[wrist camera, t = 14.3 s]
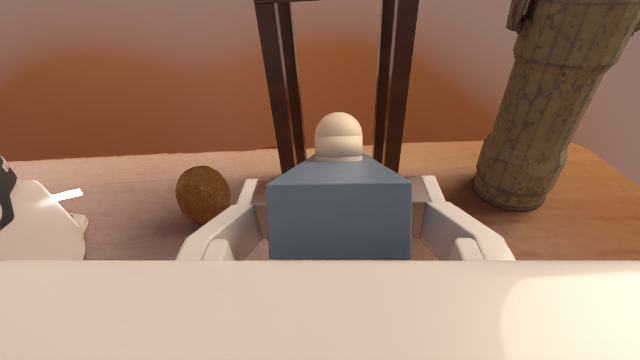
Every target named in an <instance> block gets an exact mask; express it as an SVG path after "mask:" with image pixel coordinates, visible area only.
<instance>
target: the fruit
mask: <svg viewBox="0 0 640 360" xmlns="http://www.w3.org/2000/svg"><path fill="white" fill-rule="evenodd" d="M176 198H177V201H178V204H179V206H180V209H181V210H182V212H183V213H184V214H185V215H186V216H187V217H188V218H190V219H192V220H193V221H195V222H197V223H200V224H206V223H208V222H209V221H210V220H212V219H213V218H215V217H216V216H217V215H219V214H220V213H222V212H223V211H224V210H226V209H227V208H228V207H229V205H230V189H229V186H228V184H227V182H226V181H225V179H224V178H223V176H222V175H221V174H220V173H219V172H218V171H217V170H215V169H212V168H210V167H208V166H196V167H193V168H190V169H188V170H187V171H185V172H184V173H183V174H182V175H181V176H180V178H179V180H178V182H177V186H176Z"/></svg>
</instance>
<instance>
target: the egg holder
mask: <svg viewBox="0 0 640 360" xmlns="http://www.w3.org/2000/svg"><path fill="white" fill-rule="evenodd" d="M266 198H267V219H268V239H269V258H270V259H411V232H412V182H411V181H409V180H407V179H406V178H404V177H402V176H401V175H399V174H397V173H396V172H394V171H392V170H391V169H389V168H387V167H386V166H384V165H382V164H381V163H379V162H377V161H376V160H374V159H372V158H371V157H369V156H368V155H366V154H364V153H362V130H361V127H360V125H359V123H358V122H357V121H356V119H355V118H353V117H352V116H351V115H349V114H346V113H342V112H336V113H331V114H329V115H327V116H325V117H324V118H323V119H322V120H321V121H320V122H319V124H318V126H317V128H316V131H315V155H313V156H311V157H310V158H308V159H306V160H305V161H303V162H302V163H300V164H298V165H297V166H295V167H294V168H292V169H290V170H289V171H287V172H286V173H284V174H282V175H281V176H279V177H277V178H276V179H274V180H273V181H271V182H269V183H268V184H266Z"/></svg>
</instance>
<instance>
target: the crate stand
mask: <svg viewBox="0 0 640 360" xmlns="http://www.w3.org/2000/svg"><path fill="white" fill-rule="evenodd" d="M300 1H317V0H254V3H255V11H256V17H257V24H258V30H259V35H260V41H261V47H262V54H263V60H264V67H265V72H266V79H267V85H268V91H269V97H270V103H271V109H272V115H273V122H274V128H275V134H276V140H277V146H278V153H279V159H280V165H281V171H282V174H284V173H286V172H287V171H289V170H290V169H292V168H294V167H295V166H297V165H298V164H300V163H302V162H303V161H305V160H306V159H307V155H306V145H305V135H304V126H303V115H302V105H301V94H300V84H299V74H298V63H297V53H296V43H295V33H294V23H293V13H292V2H300ZM418 5H419V0H381V12H380V30H379V48H378V65H377V82H376V100H375V117H374V135H373V136H374V137H373V152H372V159H374V160H376V161H377V162H379V163H381V164H382V165H384V166H386V167H387V168H389V169H391V170H392V171H394V172H396V173H397V174H398V169H399V161H400V153H401V144H402V136H403V128H404V120H405V112H406V103H407V95H408V87H409V79H410V71H411V62H412V54H413V46H414V38H415V30H416V21H417V13H418Z"/></svg>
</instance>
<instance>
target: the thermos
mask: <svg viewBox="0 0 640 360" xmlns="http://www.w3.org/2000/svg"><path fill="white" fill-rule="evenodd" d="M527 2H528V4H527ZM526 5H527V7H526ZM525 8H526V11H525V14H524V15H523V13H524V10H525ZM506 28H508V29H509V30H511V31H516V32H517V34H518V36H517V39H516V43H515V46H514V49H513V50H514V58H515V62H514V65H513V68H512V71H511V74H510V77H509V81H508V84H507V87H506V90H505V93H504V96H503V99H502V103H501V105H500V108H499V112H498V115H497V118H496V121H495V124H494V127H493V130H492V131H491V133H490V134H489V135H488V136H487V138H486V139H485V140H484V143H483V146H482V149H481V153H480V156H479V159H478V162H477V172H476V175H475V177H474V179H473V187H474V189H475V191H476V193H477V194H478V195H479V196H480V197H481V198H482V199H484V200H485V201H487V202H489V203H490V204H492V205H495V206H497V207H500V208H503V209H507V210H512V211H530V210H534V209H537V208H538V207H540V206H541V205H542V204H543V202H544V200H545V197H546V195H547V193H548V192H549V191H550V190H552V188H553V186H554V184H555V183H556V181H557V179H558V177H559V175H560V173H561V171H562V169H563V167H564V165H565V163H566V161H567V158H568V145H569V143H570V141H571V139H572V137H573V135H574V133H575V131H576V129H577V127H578V125H579V123H580V121H581V119H582V117H583V115H584V113H585V111H586V109H587V107H588V105H589V103H590V101H591V99H592V97H593V95H594V94H595V92H596V90H597V88H598V86H599V84H600V82H601V80H602V78H603V76H604V74H605V72H607V71H608V70H609V69H610V68H611V67H612V66H613V65H614V64H615V63H617V62H618V60H619V58H620V56H621V54H622V52H623V50H624V48H625V46H626V44H627V42H628V40H629V38H630V37H631V36H633V34H634V32H637V31H638V30H640V0H529V1H528V0H512V2H511V6H510V11H509V15H508V20H507V26H506Z"/></svg>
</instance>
